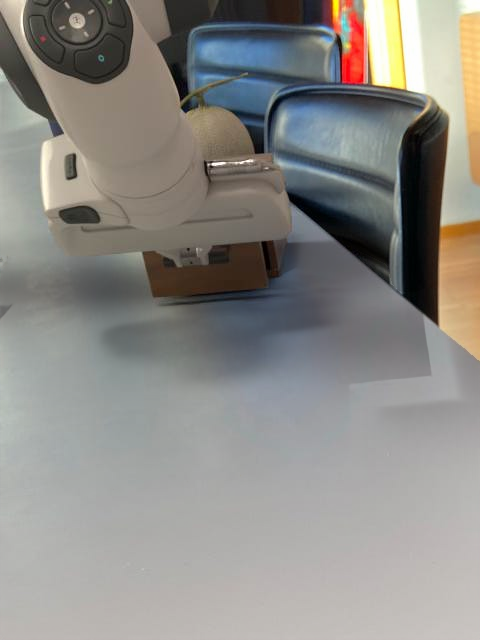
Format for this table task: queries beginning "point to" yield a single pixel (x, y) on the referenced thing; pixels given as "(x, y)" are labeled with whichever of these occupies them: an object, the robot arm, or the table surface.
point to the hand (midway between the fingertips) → (193, 259)
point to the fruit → (218, 126)
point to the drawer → (210, 271)
